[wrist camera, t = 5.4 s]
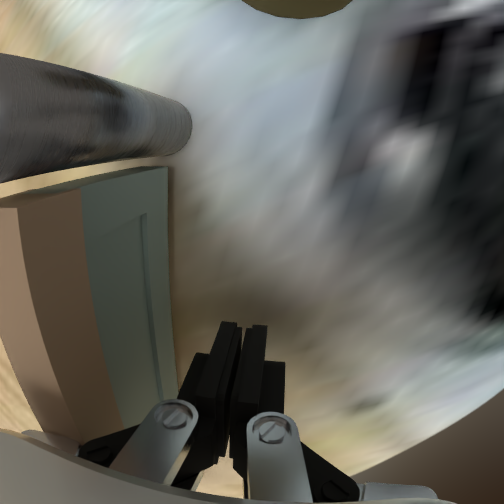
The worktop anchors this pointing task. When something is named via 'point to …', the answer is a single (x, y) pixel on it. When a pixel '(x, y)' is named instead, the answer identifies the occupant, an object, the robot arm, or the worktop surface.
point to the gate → (89, 300)
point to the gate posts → (79, 119)
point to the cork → (298, 7)
